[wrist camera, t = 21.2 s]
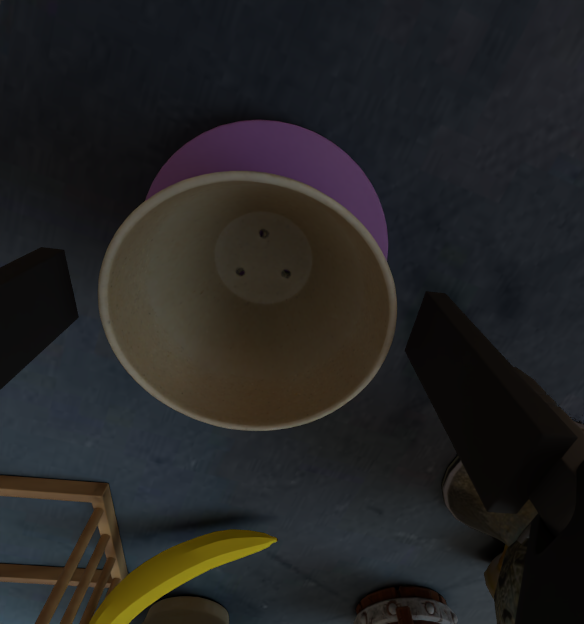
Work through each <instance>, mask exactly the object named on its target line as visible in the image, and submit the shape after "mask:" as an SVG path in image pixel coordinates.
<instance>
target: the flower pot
mask: <svg viewBox="0 0 584 624" xmlns="http://www.w3.org/2000/svg"><path fill="white" fill-rule="evenodd" d="M261 230H262V231H263V236H260V231H261ZM285 270H288V271H289V272H290V273H287V272H285ZM242 271H244V272H245V273H244V274H243V275H240V272H242ZM98 304H99V312H100V318H101V321H102V325H103V328H104V331H105V334H106V336H107V339H108V341H109V343H110V346H111V348H112V349H113V351H114V353H115V355H116V356H117V358H118V360H119V361H120V363H121V364H122V365H123V367H124V368H125V369H126V371H127V372H128V373H129V374H130V375H131V376H132V377H133V378H134V380H135V381H136V382H137V383H138V384H140V385H141V386H142V387H143V388H144V389H145V390H146V391H147V392H149V393H150V394H151V395H152V396H154V397H155V398H157V399H158V400H159V401H161V402H162V403H164V404H166V405H167V406H169V407H171V408H172V409H174V410H176V411H178V412H180V413H182V414H184V415H187V416H189V417H191V418H194V419H196V420H199V421H202V422H205V423H207V424H211V425H215V426H219V427H224V428H229V429H238V430H247V431H265V430H277V429H285V428H290V427H295V426H300V425H302V424H306V423H309V422H312V421H314V420H317V419H320V418H322V417H324V416H326V415H328V414H330V413H332V412H333V411H335V410H337V409H339V408H340V407H342V406H343V405H345V404H346V403H347V402H349V401H350V400H351V399H353V398H354V397H355V396H356V395H357V394H358V393H360V392H361V391H362V390H363V389H364V388H365V387H366V386H367V384H368V383H369V382H370V381H371V380H372V379H373V377H374V376H375V375H376V373H377V372H378V370H379V368H380V367H381V365H382V363H383V362H384V360H385V358H386V355H387V353H388V351H389V348H390V346H391V343H392V339H393V336H394V331H395V326H396V318H397V300H396V290H395V285H394V280H393V277H392V274H391V271H390V269H389V266H388V263H387V261H386V259H385V257H384V255H383V253H382V251H381V249H380V247H379V246H378V244H377V242H376V241H375V239H374V238H373V236H372V235H371V234H370V233H369V231H368V230H367V229H366V228H365V226H364V225H363V224H362V223H361V222H360V221H359V220H358V219H357V218H356V217H355V216H354V215H353V214H352V213H351V212H350V211H348V210H347V209H346V208H345V207H343V206H342V205H341V204H339V203H338V202H336V201H335V200H334V199H332V198H330V197H329V196H327V195H325V194H324V193H322V192H320V191H318V190H317V189H315V188H313V187H311V186H309V185H307V184H304V183H302V182H300V181H297V180H294V179H291V178H288V177H284V176H280V175H276V174H271V173H266V172H256V171H224V172H215V173H210V174H204V175H200V176H196V177H192V178H189V179H186V180H182V181H180V182H178V183H175V184H173V185H171V186H169V187H167V188H165V189H163V190H161V191H159V192H158V193H156V194H155V195H153V196H152V197H150V198H149V199H147V200H146V201H145V202H143V203H142V204H141V205H140V206H138V207H137V208H136V209H135V210H134V211H133V212H132V213H131V214H130V215H129V216H128V217H127V218H126V220H125V221H124V222H123V223H122V225H121V226H120V227H119V229H118V230H117V232H116V233H115V235H114V237H113V239H112V240H111V242H110V244H109V246H108V248H107V251H106V253H105V256H104V259H103V262H102V266H101V270H100V275H99V285H98Z"/></svg>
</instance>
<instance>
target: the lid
mask: <svg viewBox="0 0 584 624" xmlns="http://www.w3.org/2000/svg"><path fill="white" fill-rule="evenodd" d="M224 171H256V172H266V173H271V174H276V175H280V176H284V177H288V178H291V179H294V180H297V181H300V182H302V183H304V184H307V185H309V186H311V187H313V188H315V189H317V190H318V191H320V192H322V193H324V194H325V195H327V196H329V197H330V198H332V199H334V200H335V201H336V202H338V203H339V204H341V205H342V206H343V207H345V208H346V209H347V210H348V211H350V212H351V213H352V214H353V215H354V216H355V217H356V218H357V219H358V220H359V221H360V222H361V223H362V224H363V225H364V226H365V228H366V229H367V230H368V231H369V233H370V234H371V235H372V236H373V238H374V239H375V241H376V242H377V244H378V246H379V247H380V249H381V251H382V253H383V255H384V257H385V259H386V261H387V253H388V235H387V226H386V221H385V216H384V212H383V209H382V206H381V203H380V201H379V198H378V196H377V194H376V192H375V190H374V188H373V186H372V184H371V182H370V180H369V179H368V178H367V176H366V175H365V174H364V172H363V171H362V169H361V168H360V167H359V166H358V165H357V163H356V162H355V161H354V160H353V159H352V158H351V157H350V156H349V155H348V154H347V153H346V152H344V151H343V150H342V149H341V148H339V147H338V146H337V145H335V144H334V143H333V142H331V141H330V140H328V139H326V138H324V137H323V136H321V135H319V134H317V133H315V132H313V131H311V130H308V129H305V128H303V127H300V126H298V125H294V124H289V123H285V122H280V121H271V120H247V121H238V122H233V123H229V124H225V125H221V126H218V127H216V128H213V129H211V130H209V131H206V132H204V133H202V134H200V135H199V136H197V137H195V138H194V139H192V140H190V141H189V142H187V143H186V144H185V145H184V146H182V147H181V148H180V149H179V150H178V151H176V152H175V153H174V154H173V155H172V156H171V157H170V159H169V160H168V161H167V162H166V163H165V164H164V166H163V167H162V168H161V170H160V171H159V173H158V174H157V176H156V178H155V179H154V181H153V183H152V185H151V187H150V190H149V192H148V194H147V196H146V200H147V199H149V198H150V197H152V196H153V195H155V194H156V193H158V192H159V191H161V190H163V189H165V188H167V187H169V186H171V185H173V184H175V183H178V182H180V181H182V180H186V179H189V178H192V177H196V176H200V175H204V174H210V173H215V172H224ZM146 200H145V201H146ZM260 236H263V231H262V230H261V231H260ZM285 272H287V273H290V272H289V271H288V270H285ZM244 273H245V272H244V271H242V272H240V275H243V274H244Z"/></svg>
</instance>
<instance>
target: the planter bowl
mask: <svg viewBox="0 0 584 624" xmlns="http://www.w3.org/2000/svg"><path fill="white" fill-rule="evenodd" d="M142 624H229V614H228V612H227V611H226V609H225V608H224V607H222V606H221V605H219V604H218V603H216V602H213V601H211V600H208V599H204V598H200V597H198V596H197V597H192V596H178V597H170V598H166V599H163V600H161V601H158V602H156V603H155V604H153V605H152V606H151V608H150V609H149V611H148V613H147V616H146V618H145V620H144V622H143V623H142Z"/></svg>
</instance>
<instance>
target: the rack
mask: <svg viewBox="0 0 584 624" xmlns="http://www.w3.org/2000/svg"><path fill="white" fill-rule="evenodd" d="M0 496H11V497H24V498H38V499H51V500H65V501H79V502H92V505H93V509H94V511H93V513H92V515H91V517H90V519H89V521H88V523H87V524H86V526H85V528H84V530H83V532H82V534H81V536H80V538H79V540H78V542H77V544H76V546H75V547H74V549H73V551H72V553H71V555H70V557H69V559H68V561H67V563H66V565H65V567H49V566H33V565H17V564H1V563H0V581H1V582H18V583H35V584H52V585H55V586H54V588H53V590H52V592H51V594H50V596H49V597H48V599H47V601H46V603H45V605H44V607H43V609H42V611H41V613H40V615H39V617H38V619H37V620H36V622H35V624H49V623H50V620H51V618H52V616H53V614H54V612H55V610H56V608H57V606H58V604H59V602H60V600H61V598H62V596H63V594H64V592H65V590H66V588H67V586H68V585H69V586H77V588H76V590H75V592H74V594H73V597H72V599H71V601H70V603H69V605H68V607H67V609H66V611H65V614H64V616H63V618H62V620H61V622H60V624H72V622H73V620H74V618H75V615H76V613H77V611H78V609H79V606H80V604H81V602H82V600H83V597H84V595H85V593H86V591H87V588H88V587H95V588H94V590H93V593H92V595H91V597H90V600H89V602H88V604H87V607H86V609H85V611H84V614H83V616H82V618H81V621H80V623H79V624H89V622H90V620H91V618H92V617H93V614H94V612H95V610H96V607H97V605H98V602H99V600H100V597H101V595H102V592H103V590H104V588H109V589H108V592H107V594H106V597H107V596H108V595H109V594H110V593H111V591H112V590H113V589H114V588H115V587H116V586H117V585H118V584H119V583H120V582H121V581H122V580H123V579H124V578H125V577H126V576H127V575H128V571H127V567H126V562H125V557H124V553H123V548H122V544H121V539H120V534H119V530H118V525H117V520H116V516H115V511H114V507H113V502H112V497H111V493H110V488H109V484H108V483H96V482H83V481H70V480H58V479H45V478H32V477H19V476H6V475H0ZM97 525H98V528H99V531H100V535H101V537H100V539H99V541H98V543H97V545H96V548H95V550H94V552H93V554H92V556H91V558H90V560H89V563H88V565H87V567H86V569H82V568H77V566H78V564H79V562H80V560H81V557H82V555H83V553H84V551H85V549H86V547H87V545H88V543H89V541H90V539H91V537H92V535H93V533H94V531H95V529H96V527H97ZM104 550H105V554H106V558H107V560H106V563H105V565H104V567H103V570H98V569H96V568H97V566H98V564H99V562H100V559H101V557H102V555H103V553H104ZM106 597H105V598H106ZM104 600H105V599H104Z"/></svg>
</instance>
